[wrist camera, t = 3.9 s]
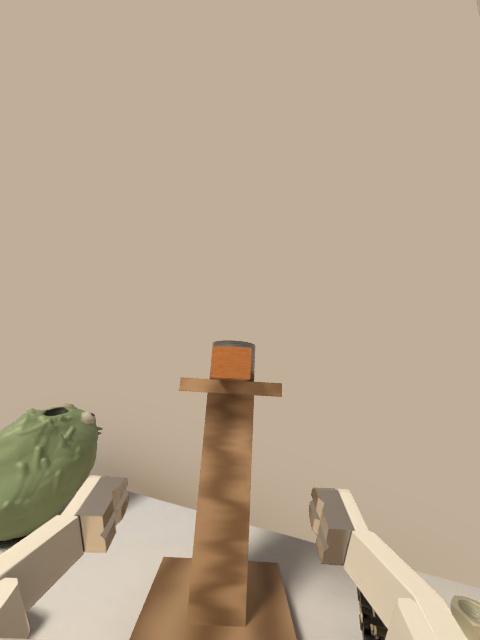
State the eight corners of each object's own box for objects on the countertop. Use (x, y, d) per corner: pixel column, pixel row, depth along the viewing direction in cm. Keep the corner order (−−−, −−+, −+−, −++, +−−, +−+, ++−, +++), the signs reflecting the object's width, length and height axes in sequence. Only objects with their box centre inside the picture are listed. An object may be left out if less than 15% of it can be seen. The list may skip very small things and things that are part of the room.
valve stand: (277, 581, 31) (279, 384, 38) (303, 696, 20) (298, 384, 27) (161, 575, 31) (185, 379, 38) (118, 687, 19) (163, 376, 27)
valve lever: (252, 382, 34) (253, 349, 35) (265, 380, 19) (266, 323, 21) (211, 380, 33) (214, 347, 35) (194, 376, 19) (201, 319, 20)
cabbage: (-92, 550, 33) (-37, 403, 38) (55, 498, 49) (79, 400, 55) (-54, 599, 26) (6, 413, 32) (102, 520, 42) (123, 406, 48)
